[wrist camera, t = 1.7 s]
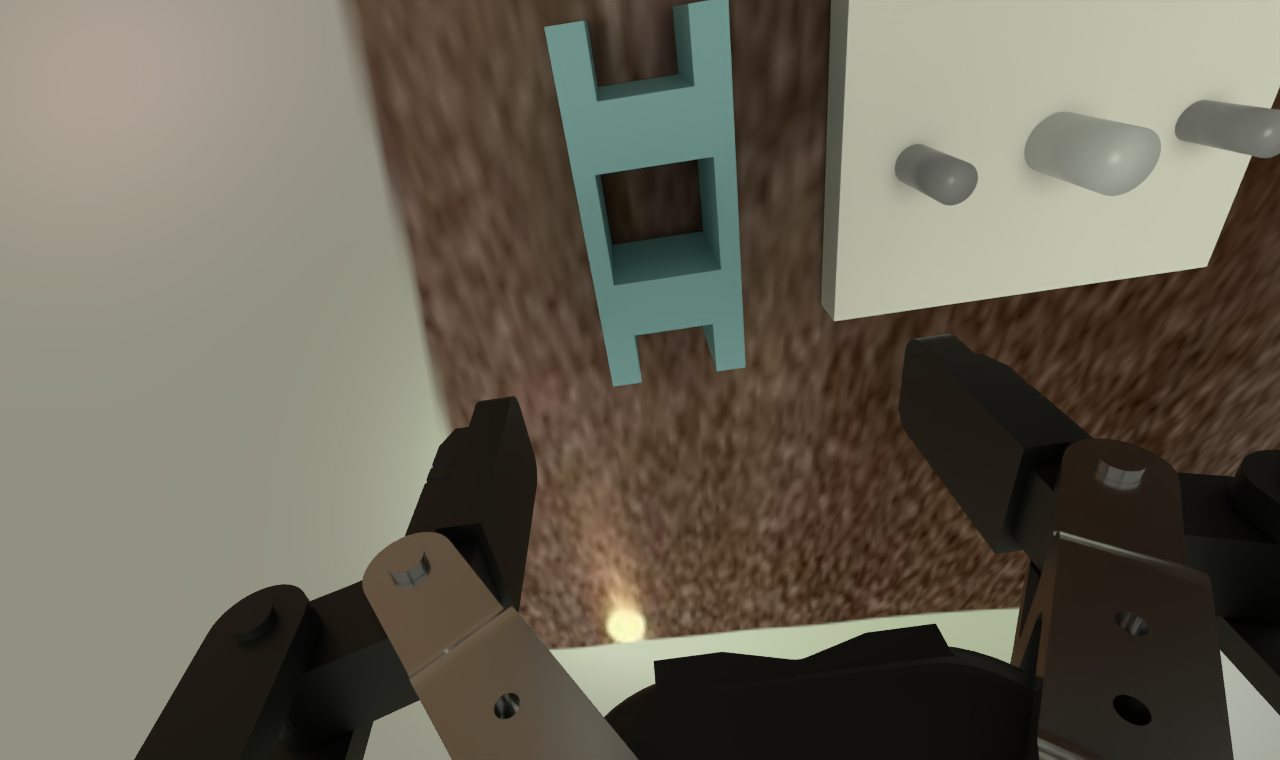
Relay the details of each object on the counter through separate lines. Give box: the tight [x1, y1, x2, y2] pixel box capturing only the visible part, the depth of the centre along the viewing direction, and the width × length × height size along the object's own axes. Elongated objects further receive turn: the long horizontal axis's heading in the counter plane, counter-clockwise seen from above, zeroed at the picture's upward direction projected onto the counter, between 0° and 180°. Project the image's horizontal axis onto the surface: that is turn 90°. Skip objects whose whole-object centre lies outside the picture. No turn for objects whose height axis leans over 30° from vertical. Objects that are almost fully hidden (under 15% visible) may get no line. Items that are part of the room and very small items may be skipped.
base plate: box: [821, 0, 1280, 321], centre depth 24 cm, size 14×18×6 cm
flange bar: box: [544, 0, 745, 386], centre depth 25 cm, size 14×6×5 cm, turn 8°
